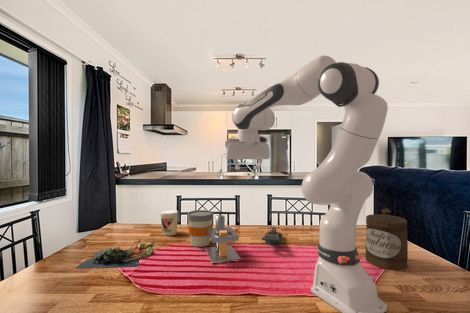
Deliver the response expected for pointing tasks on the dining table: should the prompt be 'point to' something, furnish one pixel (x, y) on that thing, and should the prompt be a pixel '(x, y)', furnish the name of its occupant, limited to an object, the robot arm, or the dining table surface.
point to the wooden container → (386, 240)
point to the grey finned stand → (215, 238)
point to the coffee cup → (169, 222)
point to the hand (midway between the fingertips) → (247, 169)
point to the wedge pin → (223, 244)
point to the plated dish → (119, 257)
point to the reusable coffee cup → (199, 227)
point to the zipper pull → (272, 237)
